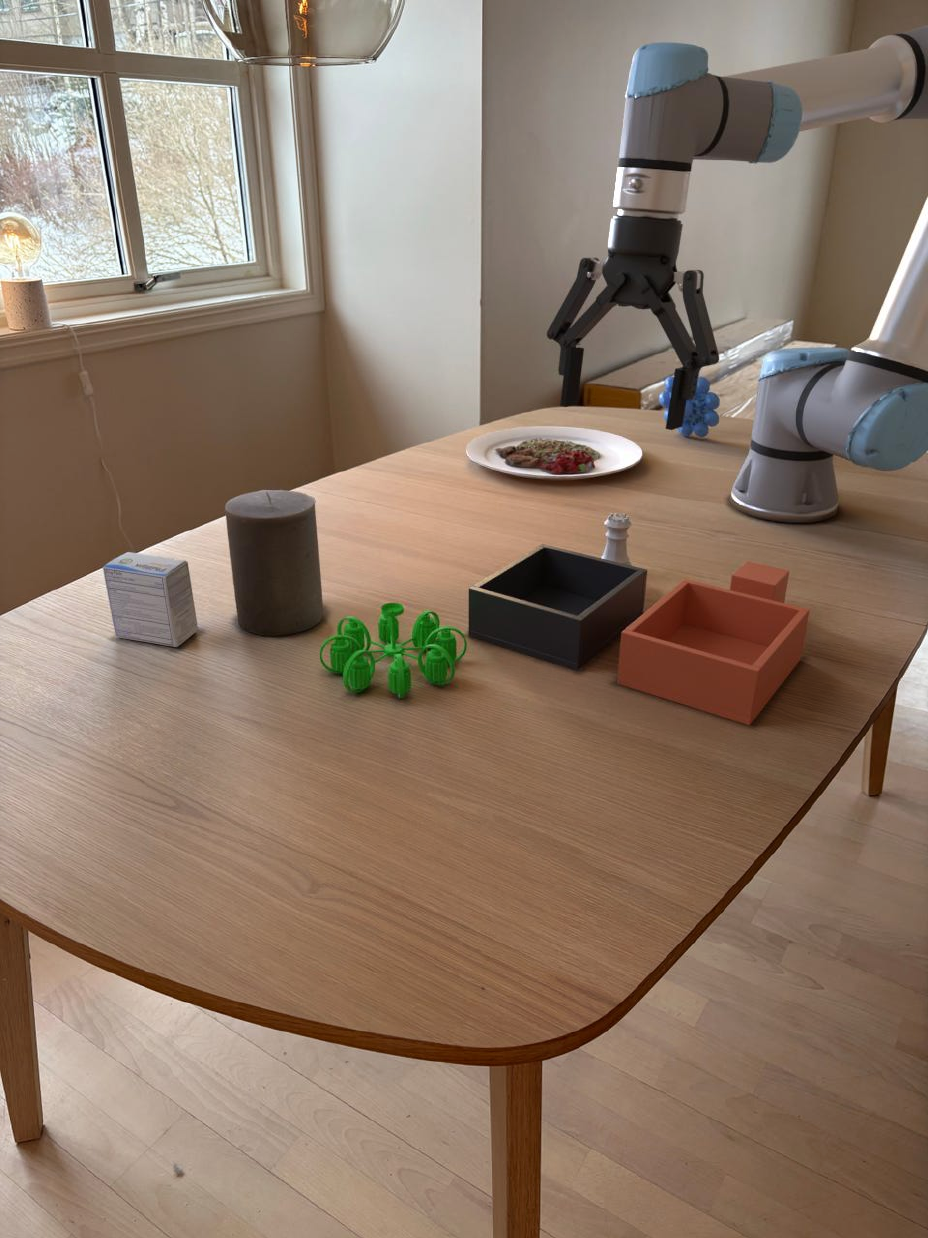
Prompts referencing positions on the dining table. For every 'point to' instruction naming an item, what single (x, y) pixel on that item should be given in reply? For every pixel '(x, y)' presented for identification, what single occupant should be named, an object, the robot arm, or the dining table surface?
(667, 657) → the terracotta bin
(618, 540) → the rook chess piece
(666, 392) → the grapes
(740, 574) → the terracotta block
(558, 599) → the charcoal bin
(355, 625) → the chandelier
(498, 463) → the plated food
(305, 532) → the pillar candle
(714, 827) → the dining table surface
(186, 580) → the medicine box
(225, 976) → the dining table surface
